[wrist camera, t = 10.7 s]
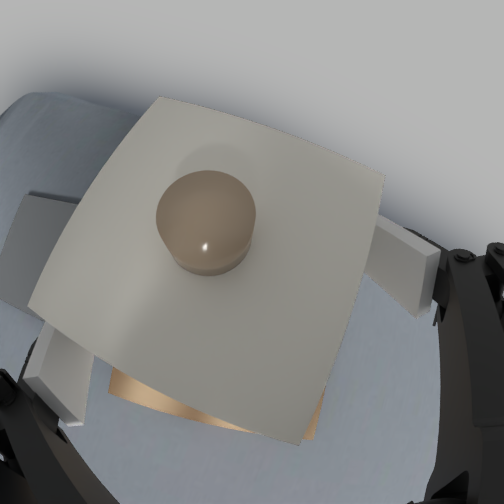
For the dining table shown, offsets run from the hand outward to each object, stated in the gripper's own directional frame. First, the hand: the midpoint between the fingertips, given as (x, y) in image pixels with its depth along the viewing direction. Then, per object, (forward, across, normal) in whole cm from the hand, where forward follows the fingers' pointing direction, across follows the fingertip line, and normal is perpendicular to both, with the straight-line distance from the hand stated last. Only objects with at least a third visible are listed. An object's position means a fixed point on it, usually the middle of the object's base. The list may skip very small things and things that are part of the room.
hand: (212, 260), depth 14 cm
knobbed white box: (+3, 0, -4) cm, 5 cm away
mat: (+10, -13, 0) cm, 16 cm away
